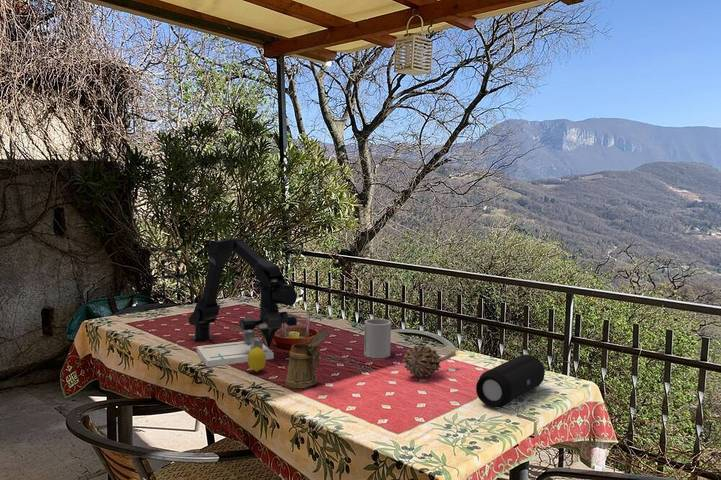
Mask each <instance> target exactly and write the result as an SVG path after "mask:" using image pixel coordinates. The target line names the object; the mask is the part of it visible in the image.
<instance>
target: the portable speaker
mask: <svg viewBox="0 0 721 480" xmlns="http://www.w3.org/2000/svg"><path fill="white" fill-rule="evenodd" d="M545 372H546V370H545V366H544V363H543V362H542V361H541V360H540V359H539V358H538V357H536V356H534V355H531V354H526V353H525V354H520V355H518V356H516V357H514V358H511V359H508V360H507V361H505V362H503V363H501V364H498V365H497V366H495V367H492V368H491V369H488V370H486V371H484V372H483V373H482V374H481V375H480V376H479V378H478V380H477V383H476V385H475V389H476V390H475V391H476V395H477V397H478V399H479V400H480V401H481V402H482V403H483V405H485V406H488V407H490V408H495V407H501V408H503V407H504V408H505V406H507V405H509V404H511V403H513V402H514V401H515V400H517V399H519V398H520V397H522V396H523V395H524V396H525V394H527V393H529V392H530V390H531V391H532V390H534V389H535V387H536V388H537V387H539V386H541V385H542V383H543V381H544V379H545Z"/></svg>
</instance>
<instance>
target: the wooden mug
mask: <svg viewBox="0 0 721 480" xmlns="http://www.w3.org/2000/svg"><path fill="white" fill-rule="evenodd" d="M327 336H328V329H327V328H326V327H325V328H323V329H321V330H320V331H318V332H317V333H316V334H315V335H313V337H312V338H311V339H310V342H309V344H308V343H304V342H303V343H301V342H300V343H295V344H292V345H291V348H290V351H289V360H288V369H287V375H286V377H285V383H284V384H285V386H287V387H289V388H292V389H308V388H312V387H313V386H315V385H317V383H318V381H317V380H318V379H317V378H318V377H317V375H316V369H317V368H318V366H319V363H320V361H321V353H320V348H319V345H320V344H322V342H324V340H325V338H326V337H327Z"/></svg>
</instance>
